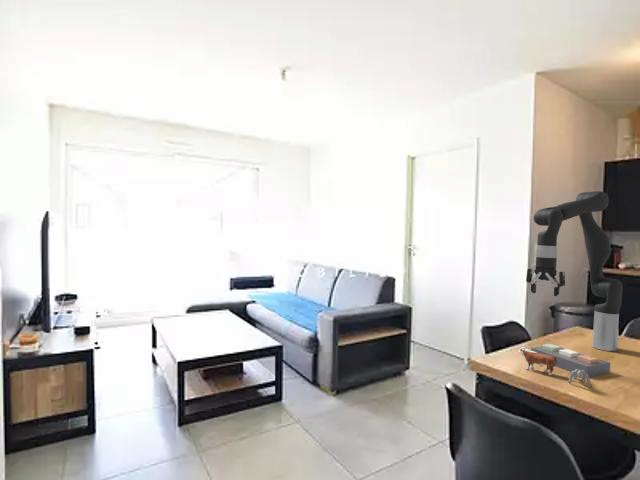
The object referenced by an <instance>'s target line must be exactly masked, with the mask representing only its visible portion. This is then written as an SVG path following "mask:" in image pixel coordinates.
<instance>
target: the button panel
mask: <svg viewBox="0 0 640 480" xmlns="http://www.w3.org/2000/svg"><path fill="white" fill-rule="evenodd" d="M560 347H561V346H560ZM564 349H566V348H564V347H561V350H564ZM530 350H531V351H534V352H536V353H540V354H545V355H551V356H554V357H555V358H556V359H557V363H556V364H555V363H554V364H555V365H554V367H557V368H560V369H562V370H565V371H568V372H570V373H571V372H572V371H575V370H576V369H578V370H584V372H585V373H587V374H588V376H589V378H590V377H594V376H600V375H601V376H602V375H606V374H610V373H611V362H609V361H605V360H604V359H600V358H597V359H598V363H595V364H588V363H585V362H582V361H579V360H577V358H578V357H572V358H570V357H567V356H564V355H561V354H559V351H555V352H552V351H549V350H546V349H543V348H542V346H534V347H531V348H530ZM578 353H579V356H581V355H585V354H584V353H580V352H578ZM555 362H556V361H555Z"/></svg>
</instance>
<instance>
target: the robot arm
mask: <svg viewBox="0 0 640 480" xmlns="http://www.w3.org/2000/svg"><path fill="white" fill-rule="evenodd" d="M609 201H610V199H609V195H608V194H607V193H606V192H604V191H601V190H597V191H585V192H580V193H578V194H577V195H576V198H575V200H574V201H568V202H564V203H561V204H558V205H556V206H551V207H550V206H549V207H545V208H540V209H539V210H536V212H535V213H534V215H533V221H534V223H535V224H536V225H537V226H543V227H547V228H546V230H544V231H540V232H538V234H537V240H536V241H537V246H536V250H535V269H534V268H528V269H527V270H526V279H525V282H526V283H528V284H530V291H531V293H532V294H536V293H537V283H538V282H539V281H546V282H547V281H549V282H551V284H553V286H554V287H553V297H558V296H559V295H560V288H561V287H564V286H566V272H565V271H557V259H558V248H557V240H558V234H559V232H560V230H561V229H560V228H561V227H562V223H563V221H568V220H570V219H573V218H575V217H577V216H579V220H580V223H581V227H582V233H583V238H584V244H585V249H586V254H587V259H588V266H589V267H588V268H589V275H590V289H591V292H592V294H593V295H594V296H596V297H600V298H606V300H605V302H604V303H599V304H598V303H597V304H595V305H594V312H593V313H594V314H593V329H592V330H593V332H592V347H593V348H594V349H598V350H601V351H606V352H617V351H618V348H619V346H618V345H619V330H620V329H619V323H620V322H619V321H620V320H619V318H620V309H621V308H622V299H623V289H624V287H623V284H622V282H621V280H619V279H616V278H610V277H609V278H608V277H604V272H603V271H604V266H605V264H606V262H607V261H608V259H609V258H610V256H611V253H612V252H611V251H612V247H611V240H610V238H609V235H608V234H607V233H606V232H605V230H604V229H602V228H601V226H600V225H599V224H598V223H597V221H596V220H595V219H594V216H593V213H598V212H602V211H605V210H606V209H607V207H608V205H609ZM534 273H535V275H536V276H534V277H533V274H534ZM556 276H557V277H558V278H559V281H558V279H557V278H556Z"/></svg>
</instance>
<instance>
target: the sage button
mask: <svg viewBox="0 0 640 480" xmlns="http://www.w3.org/2000/svg"><path fill="white" fill-rule="evenodd" d="M542 348H543V349H546V350H549V351H552V352H555V351H559V350H561V346H557V345H554V344H552V343H545V344H542Z"/></svg>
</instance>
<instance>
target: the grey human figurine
mask: <svg viewBox="0 0 640 480" xmlns="http://www.w3.org/2000/svg"><path fill="white" fill-rule="evenodd" d="M577 378H579V379H581V380H582V381H583V380H584V382H585V381H586V383H587V385H586V387H587V388H588V389H589V388H591V379H590V377H589V376H588V374H587V373H585V372H584V370H578V369H576V370H575V371H572V372H571V371H570V374H569V377H568V384H573V382H572V380H573V379H575V380H577Z"/></svg>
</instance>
